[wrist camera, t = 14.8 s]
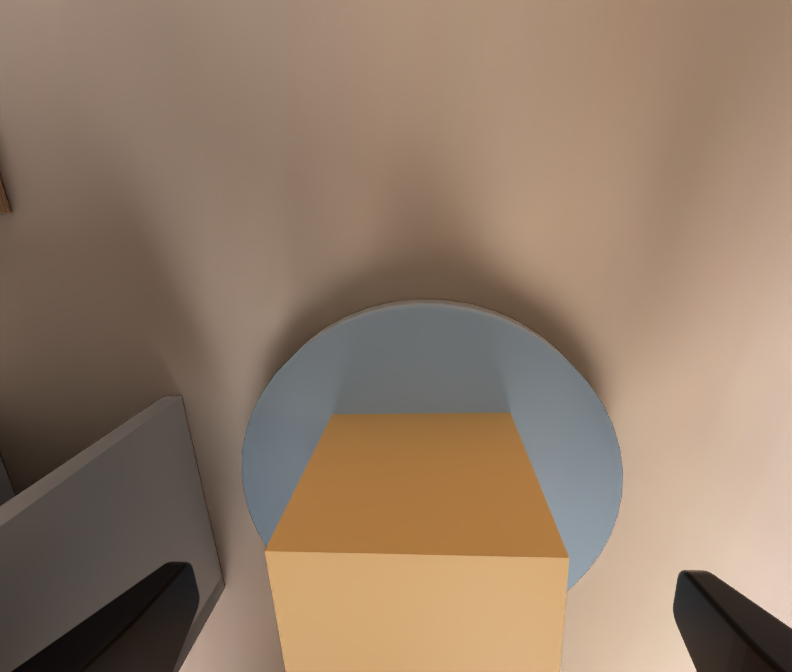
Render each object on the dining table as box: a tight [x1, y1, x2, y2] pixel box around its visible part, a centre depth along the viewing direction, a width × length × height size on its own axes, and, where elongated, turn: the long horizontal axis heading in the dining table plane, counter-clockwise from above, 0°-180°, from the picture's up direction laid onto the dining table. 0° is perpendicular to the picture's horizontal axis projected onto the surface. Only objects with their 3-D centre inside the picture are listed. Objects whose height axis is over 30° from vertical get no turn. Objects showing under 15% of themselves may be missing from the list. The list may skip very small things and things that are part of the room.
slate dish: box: [242, 299, 623, 590], centre depth 10 cm, size 9×9×1 cm
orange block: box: [265, 412, 569, 672], centre depth 8 cm, size 4×4×4 cm
